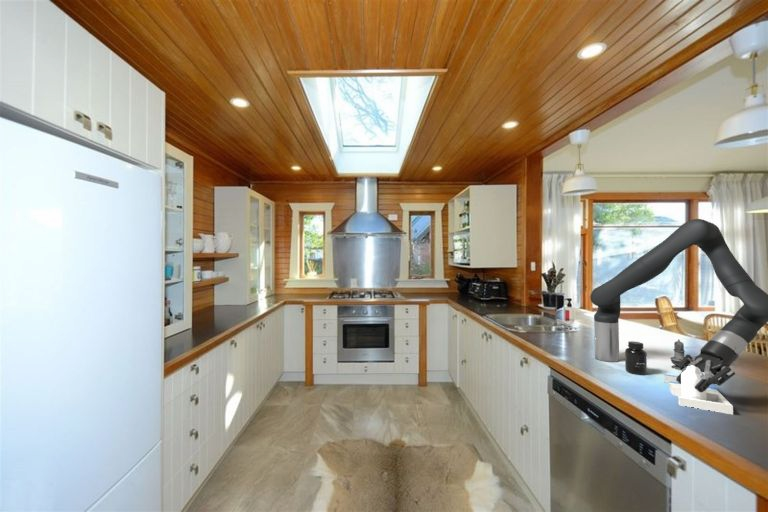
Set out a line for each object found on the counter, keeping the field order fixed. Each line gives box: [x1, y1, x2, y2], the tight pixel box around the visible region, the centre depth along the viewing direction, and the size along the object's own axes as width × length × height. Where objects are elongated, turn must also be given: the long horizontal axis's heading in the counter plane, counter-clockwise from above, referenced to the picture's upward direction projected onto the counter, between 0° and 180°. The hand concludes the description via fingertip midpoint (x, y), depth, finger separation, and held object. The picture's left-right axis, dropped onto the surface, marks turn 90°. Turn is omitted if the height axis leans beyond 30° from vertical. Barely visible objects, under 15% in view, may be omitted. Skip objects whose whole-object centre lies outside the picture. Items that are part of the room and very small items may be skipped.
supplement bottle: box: [624, 341, 648, 376], centre depth 131 cm, size 7×7×12 cm
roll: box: [680, 365, 706, 400], centre depth 103 cm, size 6×12×6 cm
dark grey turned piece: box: [669, 339, 686, 371], centre depth 135 cm, size 6×6×12 cm
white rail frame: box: [663, 374, 734, 415], centre depth 108 cm, size 12×23×4 cm, turn 148°
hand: (688, 386), depth 103 cm, fingers closed on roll, 5 cm apart
